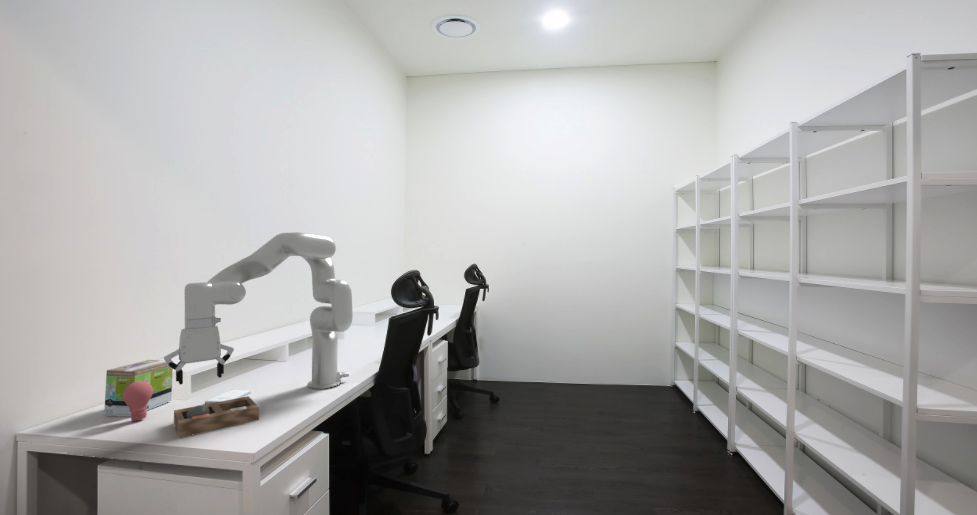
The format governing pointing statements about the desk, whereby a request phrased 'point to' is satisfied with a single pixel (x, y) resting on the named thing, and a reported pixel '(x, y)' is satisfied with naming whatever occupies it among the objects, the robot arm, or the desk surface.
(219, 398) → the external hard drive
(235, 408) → the socket block
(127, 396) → the light bulb
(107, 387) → the tea box
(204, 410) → the dark grey ball
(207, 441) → the desk surface
